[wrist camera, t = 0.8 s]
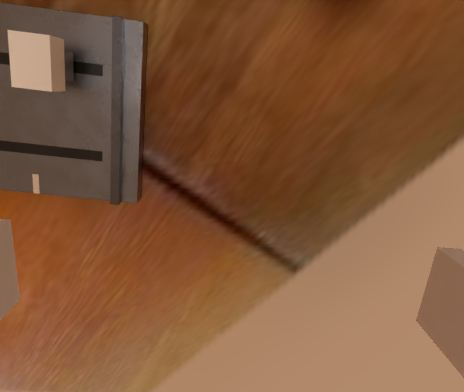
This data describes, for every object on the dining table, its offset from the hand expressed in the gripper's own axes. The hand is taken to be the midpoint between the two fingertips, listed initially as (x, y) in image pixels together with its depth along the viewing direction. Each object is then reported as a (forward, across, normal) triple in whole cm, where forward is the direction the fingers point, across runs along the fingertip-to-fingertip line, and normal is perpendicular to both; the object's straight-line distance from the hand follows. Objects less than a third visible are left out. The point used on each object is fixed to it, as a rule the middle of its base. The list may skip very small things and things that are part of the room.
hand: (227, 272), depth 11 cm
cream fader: (+24, -15, +6) cm, 29 cm away
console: (+26, -21, +2) cm, 34 cm away
